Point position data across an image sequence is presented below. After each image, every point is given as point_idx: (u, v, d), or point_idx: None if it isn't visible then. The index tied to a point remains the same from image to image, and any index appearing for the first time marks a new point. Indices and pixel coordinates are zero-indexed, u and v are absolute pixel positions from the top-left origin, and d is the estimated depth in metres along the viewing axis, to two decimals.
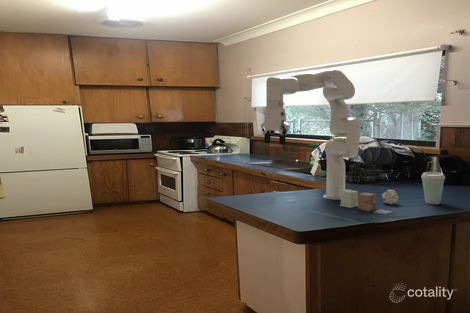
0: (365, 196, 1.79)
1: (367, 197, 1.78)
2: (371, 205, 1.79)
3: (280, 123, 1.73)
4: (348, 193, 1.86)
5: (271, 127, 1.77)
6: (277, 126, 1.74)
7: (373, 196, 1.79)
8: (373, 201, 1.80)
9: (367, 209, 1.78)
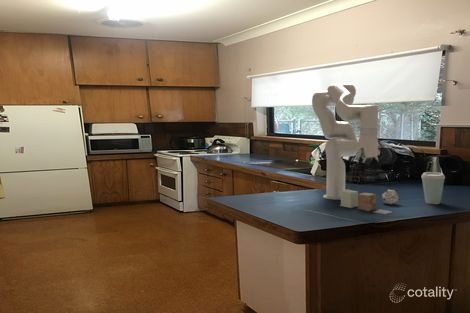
0: (365, 196, 1.79)
1: (367, 197, 1.78)
2: (371, 205, 1.79)
3: None
4: (348, 193, 1.86)
5: (372, 154, 1.77)
6: (377, 153, 1.80)
7: (373, 196, 1.79)
8: (373, 201, 1.80)
9: (367, 209, 1.78)
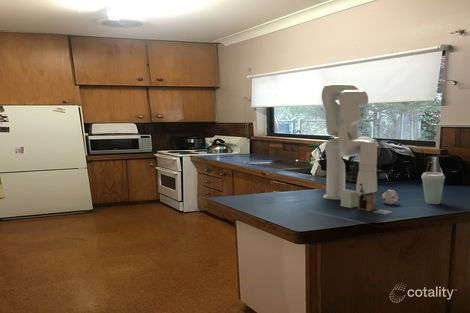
0: None
1: (367, 197, 1.78)
2: (371, 205, 1.79)
3: None
4: (348, 193, 1.86)
5: (371, 190, 1.79)
6: (376, 188, 1.81)
7: (373, 196, 1.79)
8: (373, 201, 1.80)
9: (367, 209, 1.78)
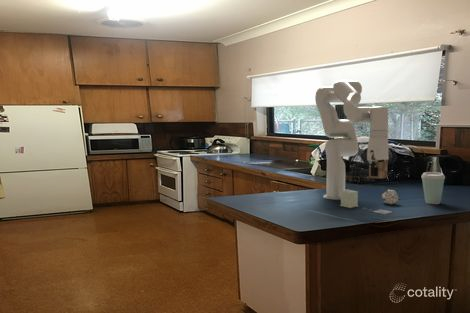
0: None
1: (378, 164, 1.72)
2: (383, 173, 1.73)
3: None
4: (348, 193, 1.86)
5: (383, 157, 1.73)
6: (387, 155, 1.76)
7: (385, 164, 1.74)
8: (385, 168, 1.74)
9: (379, 176, 1.72)
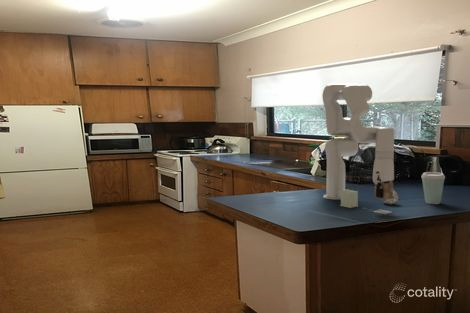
0: None
1: (384, 185, 1.71)
2: (389, 194, 1.72)
3: None
4: (348, 193, 1.86)
5: (388, 178, 1.72)
6: (393, 176, 1.74)
7: (390, 185, 1.72)
8: (390, 190, 1.73)
9: (384, 198, 1.71)
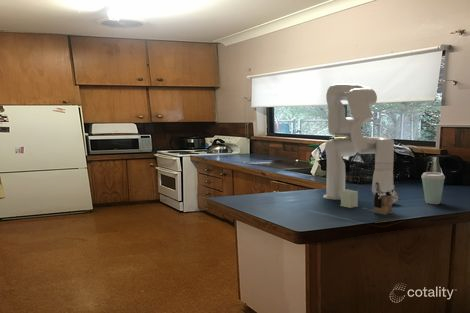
0: (381, 198, 1.72)
1: (383, 199, 1.72)
2: (388, 208, 1.73)
3: None
4: (348, 193, 1.86)
5: (388, 189, 1.73)
6: (392, 187, 1.75)
7: (389, 199, 1.73)
8: (389, 203, 1.73)
9: (383, 212, 1.72)
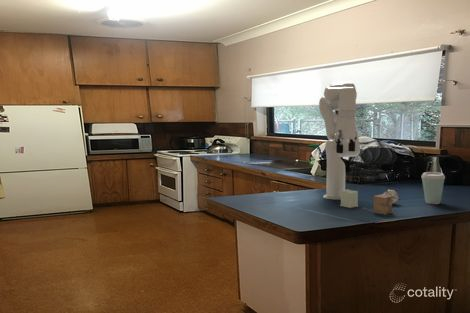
0: (381, 198, 1.72)
1: (383, 199, 1.72)
2: (388, 208, 1.73)
3: None
4: (348, 193, 1.86)
5: (350, 136, 1.79)
6: (354, 135, 1.82)
7: (389, 199, 1.73)
8: (389, 203, 1.73)
9: (383, 212, 1.72)
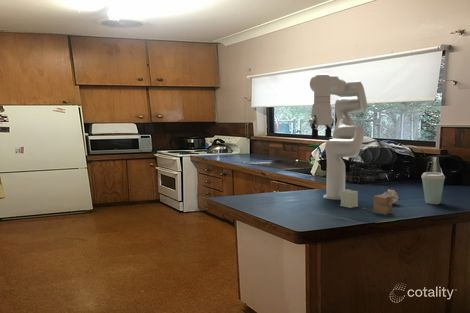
0: (381, 198, 1.72)
1: (383, 199, 1.72)
2: (388, 208, 1.73)
3: None
4: (348, 193, 1.86)
5: (325, 122, 1.84)
6: (330, 121, 1.87)
7: (389, 199, 1.73)
8: (389, 203, 1.73)
9: (383, 212, 1.72)
